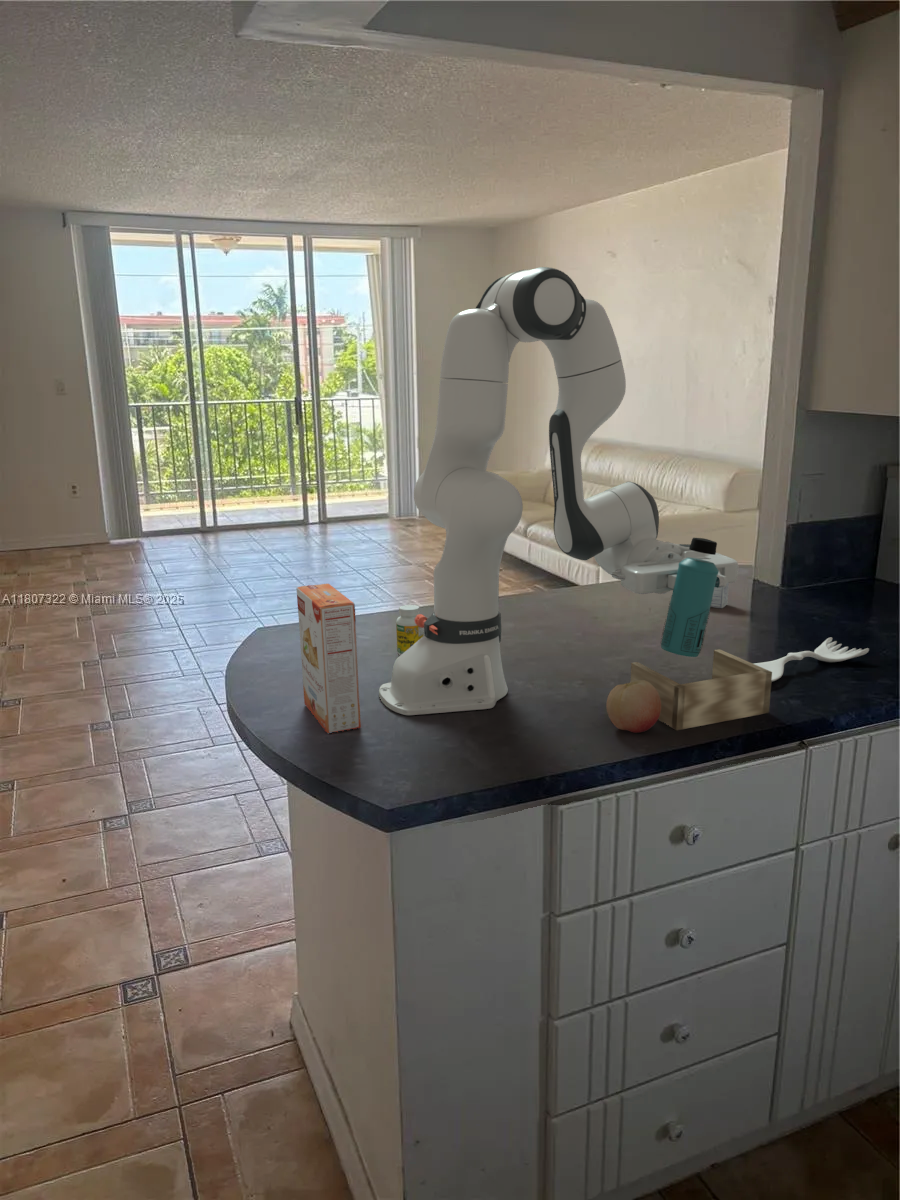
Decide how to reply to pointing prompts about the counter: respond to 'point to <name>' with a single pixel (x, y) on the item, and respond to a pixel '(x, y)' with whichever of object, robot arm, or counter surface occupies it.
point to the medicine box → (720, 597)
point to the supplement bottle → (407, 628)
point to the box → (711, 693)
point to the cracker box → (329, 656)
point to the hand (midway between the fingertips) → (709, 584)
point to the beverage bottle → (690, 602)
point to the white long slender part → (821, 653)
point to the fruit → (634, 706)
